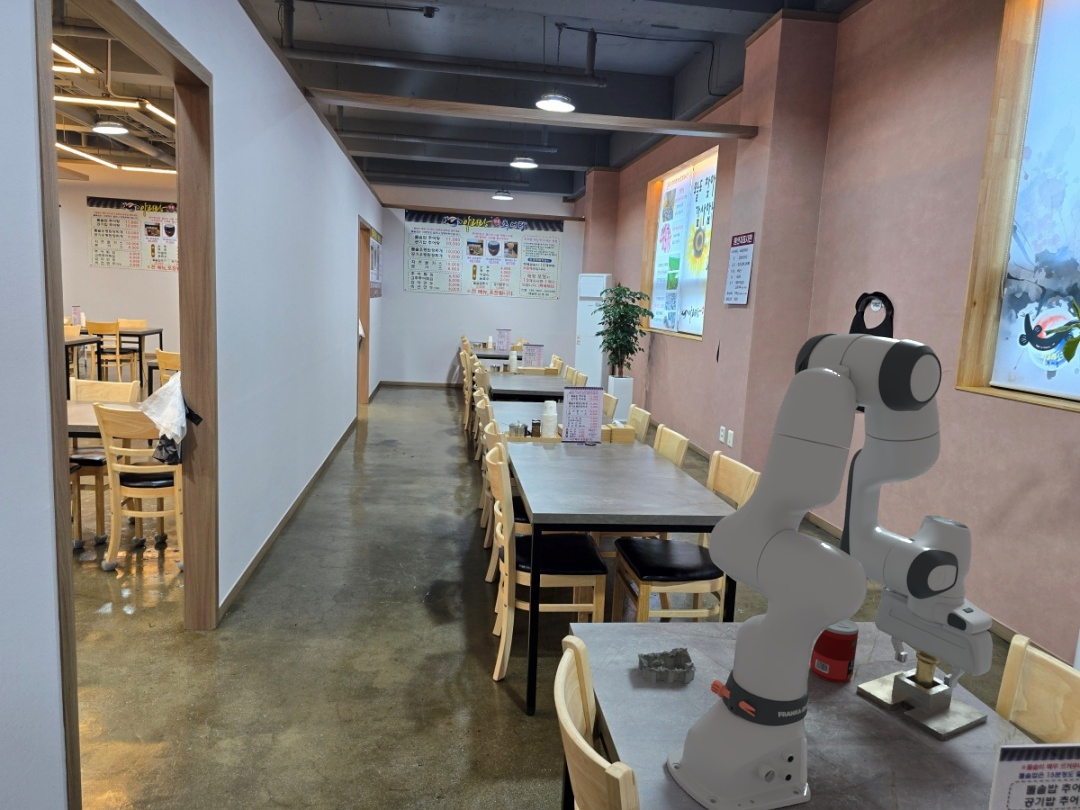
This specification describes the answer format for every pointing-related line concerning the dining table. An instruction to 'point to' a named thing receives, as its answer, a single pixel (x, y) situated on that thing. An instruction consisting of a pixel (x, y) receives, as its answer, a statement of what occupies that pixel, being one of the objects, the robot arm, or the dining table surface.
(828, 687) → the dining table surface
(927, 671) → the hinge pin
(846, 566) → the robot arm
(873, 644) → the dining table surface
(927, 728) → the silver plate with socket
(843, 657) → the canned food
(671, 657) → the egg carton
